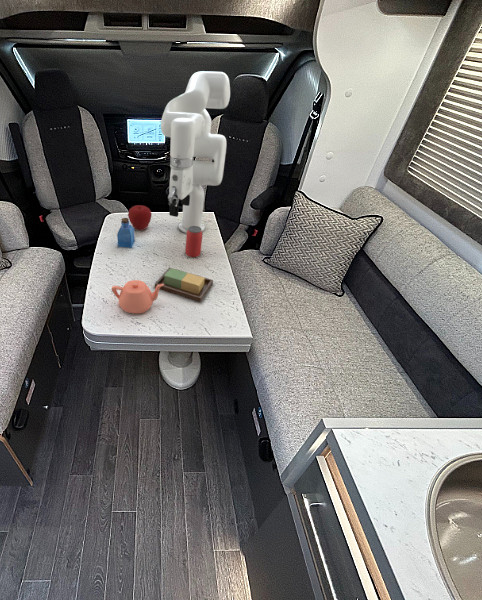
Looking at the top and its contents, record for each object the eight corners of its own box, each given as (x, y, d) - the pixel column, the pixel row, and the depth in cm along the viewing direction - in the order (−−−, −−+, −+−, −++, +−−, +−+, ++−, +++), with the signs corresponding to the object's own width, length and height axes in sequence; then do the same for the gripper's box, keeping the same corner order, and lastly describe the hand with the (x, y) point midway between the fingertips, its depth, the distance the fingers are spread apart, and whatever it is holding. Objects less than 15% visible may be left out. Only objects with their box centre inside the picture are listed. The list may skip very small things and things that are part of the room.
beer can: (182, 255, 147) (184, 230, 139) (189, 248, 151) (190, 224, 144) (196, 259, 144) (199, 234, 137) (202, 252, 149) (205, 227, 141)
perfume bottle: (131, 248, 151) (130, 223, 144) (118, 246, 152) (116, 222, 144) (134, 241, 156) (133, 216, 148) (121, 240, 157) (119, 215, 149)
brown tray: (169, 271, 137) (169, 267, 136) (212, 284, 131) (213, 279, 129) (154, 288, 128) (154, 283, 127) (200, 302, 122) (200, 298, 121)
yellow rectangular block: (186, 281, 131) (187, 272, 129) (203, 286, 129) (204, 277, 126) (180, 289, 127) (181, 280, 125) (198, 294, 125) (199, 285, 122)
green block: (170, 276, 134) (170, 267, 131) (186, 281, 131) (187, 272, 129) (164, 283, 130) (164, 275, 127) (180, 289, 127) (181, 280, 125)
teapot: (115, 293, 126) (113, 272, 120) (163, 294, 126) (164, 273, 120) (111, 315, 116) (108, 293, 110) (163, 316, 116) (164, 294, 110)
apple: (155, 226, 167) (155, 203, 160) (144, 235, 160) (144, 212, 153) (136, 221, 171) (135, 199, 164) (124, 230, 164) (123, 207, 157)
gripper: (181, 171, 104) (179, 222, 115) (202, 155, 115) (198, 203, 126) (159, 167, 106) (159, 218, 117) (181, 152, 118) (179, 199, 129)
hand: (179, 210), depth 122 cm, fingers open, 9 cm apart
